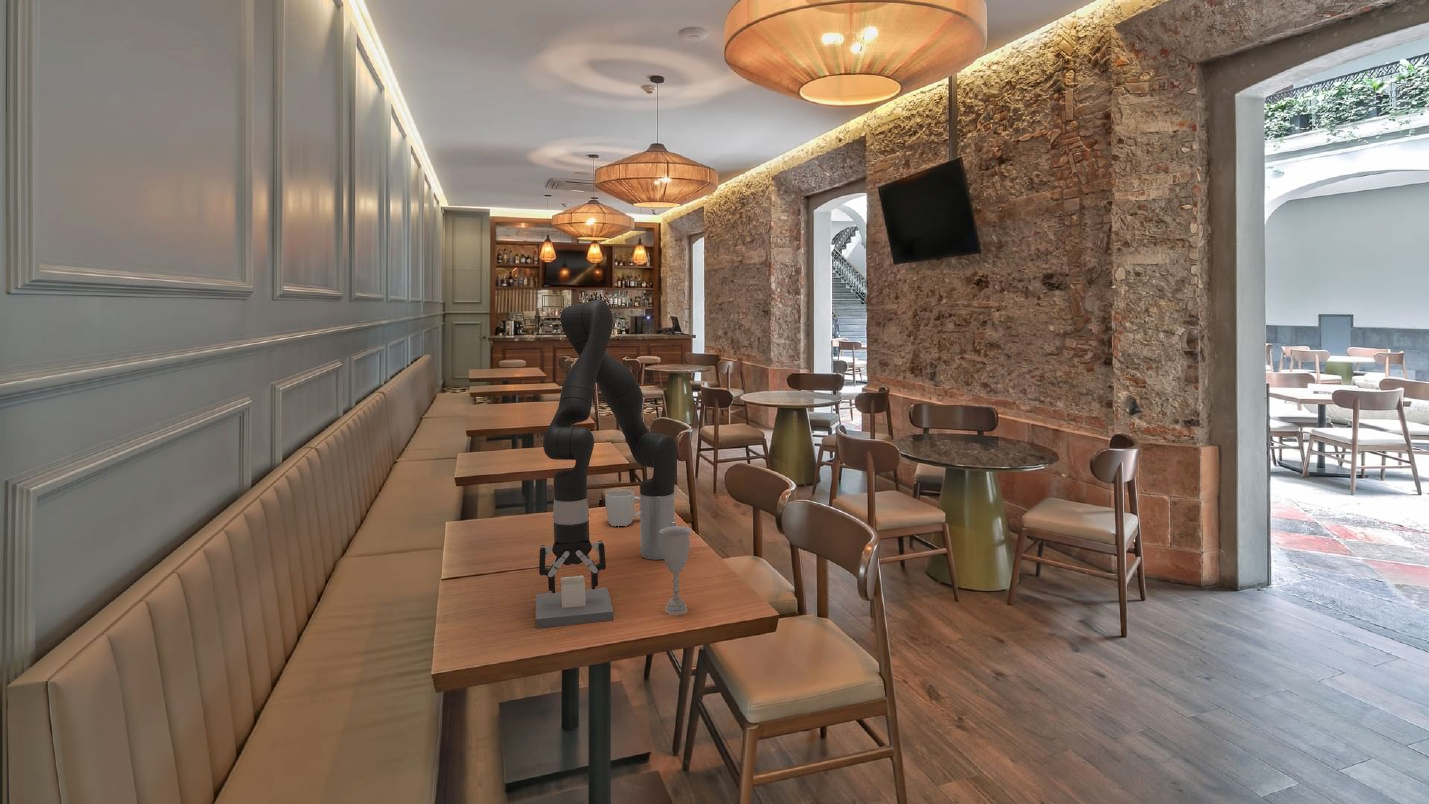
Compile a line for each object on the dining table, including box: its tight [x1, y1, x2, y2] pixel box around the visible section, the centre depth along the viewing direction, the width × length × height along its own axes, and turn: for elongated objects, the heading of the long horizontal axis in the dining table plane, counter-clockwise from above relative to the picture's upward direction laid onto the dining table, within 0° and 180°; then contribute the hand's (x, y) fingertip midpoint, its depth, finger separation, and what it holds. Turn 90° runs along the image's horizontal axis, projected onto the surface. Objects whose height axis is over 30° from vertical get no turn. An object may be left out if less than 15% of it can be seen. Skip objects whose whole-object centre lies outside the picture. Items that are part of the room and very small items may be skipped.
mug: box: [604, 489, 640, 528], centre depth 224 cm, size 13×9×10 cm
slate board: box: [535, 587, 614, 629], centre depth 157 cm, size 16×14×2 cm
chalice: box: [659, 525, 692, 616], centre depth 157 cm, size 7×7×18 cm
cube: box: [560, 575, 586, 608], centre depth 157 cm, size 5×5×5 cm
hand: (573, 590), depth 157 cm, fingers open, 8 cm apart
